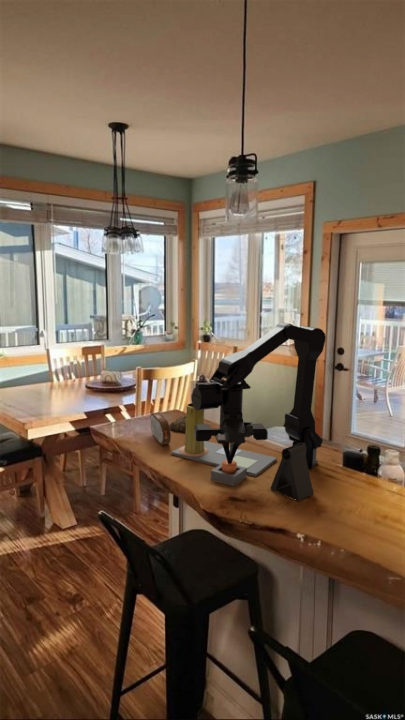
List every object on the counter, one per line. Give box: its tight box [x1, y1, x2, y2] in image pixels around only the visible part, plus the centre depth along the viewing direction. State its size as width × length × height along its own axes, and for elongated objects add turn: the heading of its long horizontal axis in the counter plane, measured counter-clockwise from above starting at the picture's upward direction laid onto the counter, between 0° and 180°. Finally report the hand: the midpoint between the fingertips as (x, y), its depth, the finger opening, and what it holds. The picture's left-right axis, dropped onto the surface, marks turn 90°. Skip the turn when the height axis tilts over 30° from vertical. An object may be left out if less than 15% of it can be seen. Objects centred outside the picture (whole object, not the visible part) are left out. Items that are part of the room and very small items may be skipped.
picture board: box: [170, 441, 278, 477], centre depth 140 cm, size 28×14×1 cm, turn 58°
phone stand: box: [269, 444, 315, 502], centre depth 118 cm, size 9×6×12 cm, turn 41°
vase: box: [184, 402, 205, 454], centre depth 141 cm, size 6×6×14 cm
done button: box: [222, 460, 237, 474], centre depth 125 cm, size 4×4×2 cm
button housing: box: [210, 464, 247, 487], centre depth 126 cm, size 7×7×2 cm
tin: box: [149, 411, 172, 445], centre depth 153 cm, size 15×3×8 cm, turn 22°
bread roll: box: [169, 414, 186, 433], centre depth 168 cm, size 13×12×5 cm
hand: (229, 463), depth 125 cm, fingers closed, pressing on done button
